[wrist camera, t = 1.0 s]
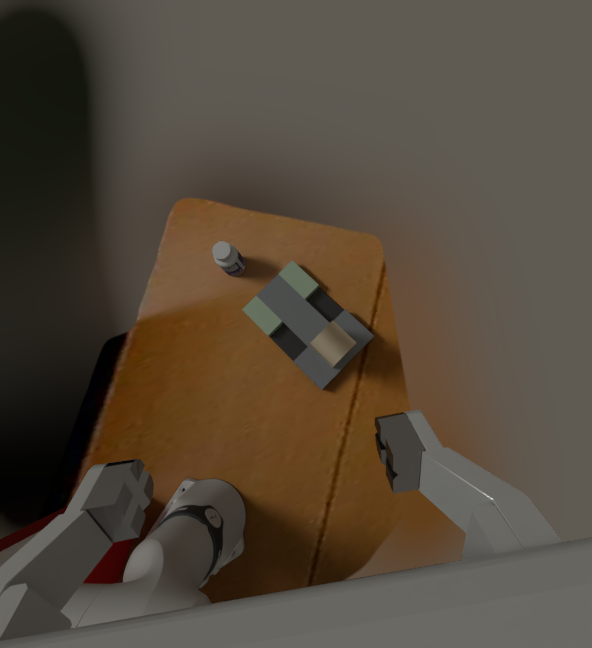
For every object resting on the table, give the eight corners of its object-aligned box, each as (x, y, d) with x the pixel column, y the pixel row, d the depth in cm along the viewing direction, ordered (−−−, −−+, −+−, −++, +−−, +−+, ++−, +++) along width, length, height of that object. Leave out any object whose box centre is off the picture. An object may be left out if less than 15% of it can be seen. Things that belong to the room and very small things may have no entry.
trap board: (321, 389, 68) (321, 390, 66) (245, 311, 73) (242, 309, 71) (372, 337, 69) (374, 336, 67) (293, 264, 74) (292, 260, 71)
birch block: (332, 368, 66) (333, 366, 57) (312, 348, 67) (309, 343, 58) (352, 347, 67) (356, 342, 57) (332, 328, 68) (332, 320, 58)
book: (117, 481, 70) (-57, 567, 38) (148, 494, 68) (-5, 594, 37) (68, 612, 66) (-167, 823, 35) (101, 628, 65) (-113, 862, 34)
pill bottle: (229, 252, 76) (214, 234, 67) (249, 259, 75) (237, 242, 66) (220, 273, 75) (205, 258, 66) (241, 279, 75) (228, 265, 65)
